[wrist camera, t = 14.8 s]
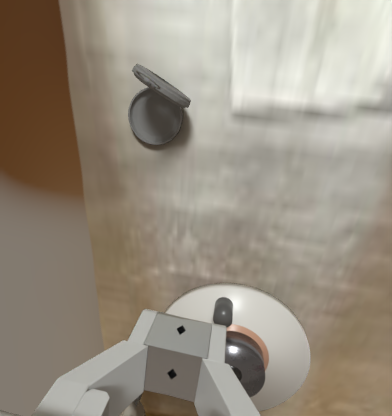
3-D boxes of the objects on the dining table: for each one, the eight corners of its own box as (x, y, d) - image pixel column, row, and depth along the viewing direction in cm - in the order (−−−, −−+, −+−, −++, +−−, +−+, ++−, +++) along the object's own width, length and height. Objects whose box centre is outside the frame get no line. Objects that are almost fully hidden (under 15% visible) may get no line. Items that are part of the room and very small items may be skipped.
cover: (207, 323, 39) (205, 339, 36) (271, 341, 38) (274, 359, 35) (194, 370, 42) (191, 389, 39) (253, 388, 41) (254, 408, 38)
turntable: (175, 259, 40) (165, 281, 34) (329, 302, 39) (344, 333, 33) (149, 371, 47) (137, 405, 42) (277, 411, 46) (283, 452, 40)
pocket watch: (133, 143, 36) (95, 152, 27) (128, 72, 34) (84, 53, 24) (196, 144, 35) (180, 153, 25) (196, 70, 32) (177, 49, 23)
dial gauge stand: (160, 347, 45) (133, 422, 34) (174, 370, 46) (153, 451, 35) (128, 357, 47) (93, 432, 36) (143, 379, 48) (113, 459, 37)
